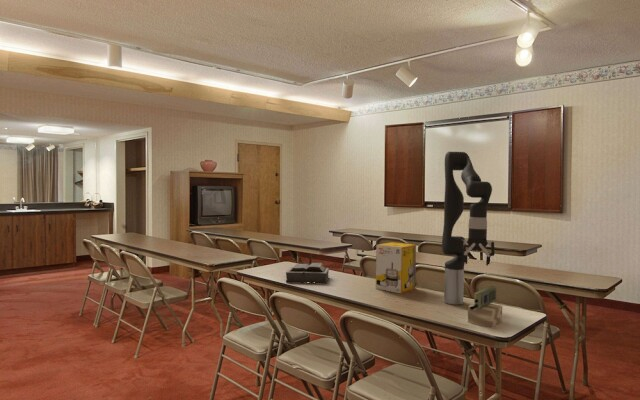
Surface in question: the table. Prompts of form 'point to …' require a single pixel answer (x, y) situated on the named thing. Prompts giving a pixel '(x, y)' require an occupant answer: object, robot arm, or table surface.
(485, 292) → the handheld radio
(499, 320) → the birch block
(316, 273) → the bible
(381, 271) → the packaging box
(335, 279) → the table surface
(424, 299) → the table surface
